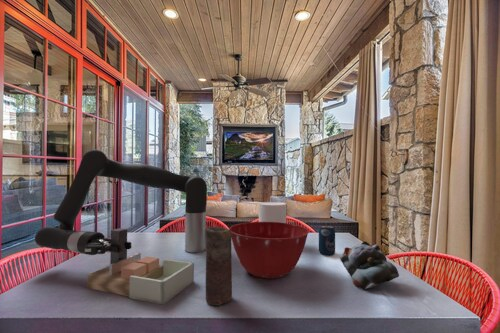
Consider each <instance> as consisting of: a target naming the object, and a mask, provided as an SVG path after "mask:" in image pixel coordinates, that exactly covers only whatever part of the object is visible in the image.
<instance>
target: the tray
mask: <svg viewBox="0 0 500 333" xmlns="http://www.w3.org/2000/svg"><path fill="white" fill-rule="evenodd" d="M194 264H195V263H194V262H188V261H183V260H176V259H175V260H174V259H166V258H164V259H163V260H162V266H163V276H161V277H160V278H158V279H150V278H144V277H138V276H130V296H128V297H129V299H133V300H137V301H143V302H147V303H153V304H158V305H165V304H166V303H167V302H168V301H170V300H171V299H173V297H175V296H176V295H178V294H180V293H181V292H182V291H183V290H184V289H186V288H187V287H188V286H190V285H191V284H192V283H194V281H195V276H194V275H195V272H194V271H195V270H194V269H195V265H194Z"/></svg>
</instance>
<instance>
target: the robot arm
mask: <svg viewBox="0 0 500 333" xmlns="http://www.w3.org/2000/svg"><path fill="white" fill-rule="evenodd" d="M75 173H76V174H75V176H74V179H73V180H72V182H71V185H70V186H69V188H68V190H67V192H66V193H65V195H64V197H63V199H62V201H61V203H60V204H59V206H58V208H57V209H56V211H55V213H54V215H53V219H54V221H56V222H57V223H59V227H55V226H44V227H42V228H41V229H39V230H38V231H37V232H36V233H35V236H34V242H35V244H36V245H37V246H39V247H42V248H48V249H51V250H59V251H60V250H63V251H68V252H73V253H77V254H81V255H88V256H95V255H104V254H106V253H108V254H109V253H110V254H111V252H116V253H120V252H122V246H121V245H114V244H112V245H111V236H110V237H109V236H105V235H104V234H103V233H102V232H99V231H93V230H92V231H91V230H76V229H75V230H74V226H75V222H76V219H77V217H78V215H79V214H80V212H81V211H82V208H83V206H84V204H85V202H86V200H87V199H86V198H87V196H88V193H89V190H90V188H91V185H92V183H93V181H94V179H95V178H97V177H103V178H110V179H111V178H112V179H118V180H121V181H125V182H128V183H132V184H135V185H140V186H144V187H148V188H154V189H161V190H162V189H164V190H165V189H166V190H172V191H173V190H175V191H179V192H181V193H184V194H185V207H184V209H185V213H184V214H185V218H184V219H185V222H184V223H185V224H184V227H185V228H184V232H185V234H184V243H185V244H184V251H185V252H187V253H201V252H205V251H206V228H207V204H208V185H207V182H206V181H205V180H204V179H203V178H202V177H200V176H192V175H191V176H190V175H184V174H178V173H175V172H172V171H169V170H167V169H164V168H161V167H158V166H155V165H151V164H145V163H130V162H129V163H126V162H120V161H116V160H114V159H113V160H112V159H109V158H108V157H107V154H106V153H104V152H103V151H102V150H99V149H90V150H88V151H86V152H85V153H84V154H83V155H82V158H81V159H80V164H79V166H78V168H77V171H76V172H75ZM130 249H132V242H131V241H127V250H130Z"/></svg>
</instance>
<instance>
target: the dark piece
mask: <svg viewBox="0 0 500 333" xmlns="http://www.w3.org/2000/svg"><path fill="white" fill-rule="evenodd" d="M110 238H111V245H112V244H114V245H121V246H122V252H120V253H116V252H110V257H109V258H110V261H109V262H110V263H109V264H108V266H109V275H113V274H115V273H117V272H119V271H121V268H122V267H124V266H126V265H128V264H131V263H133V262H135V263H136V261H138V260H140V259H142V256H141V255H142V254H141V252H136V253H134V254H132V255H130V256H128V249H127V242H128V228H122V227H121V228H120V227H119V228H115V229H111V230H110Z"/></svg>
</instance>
